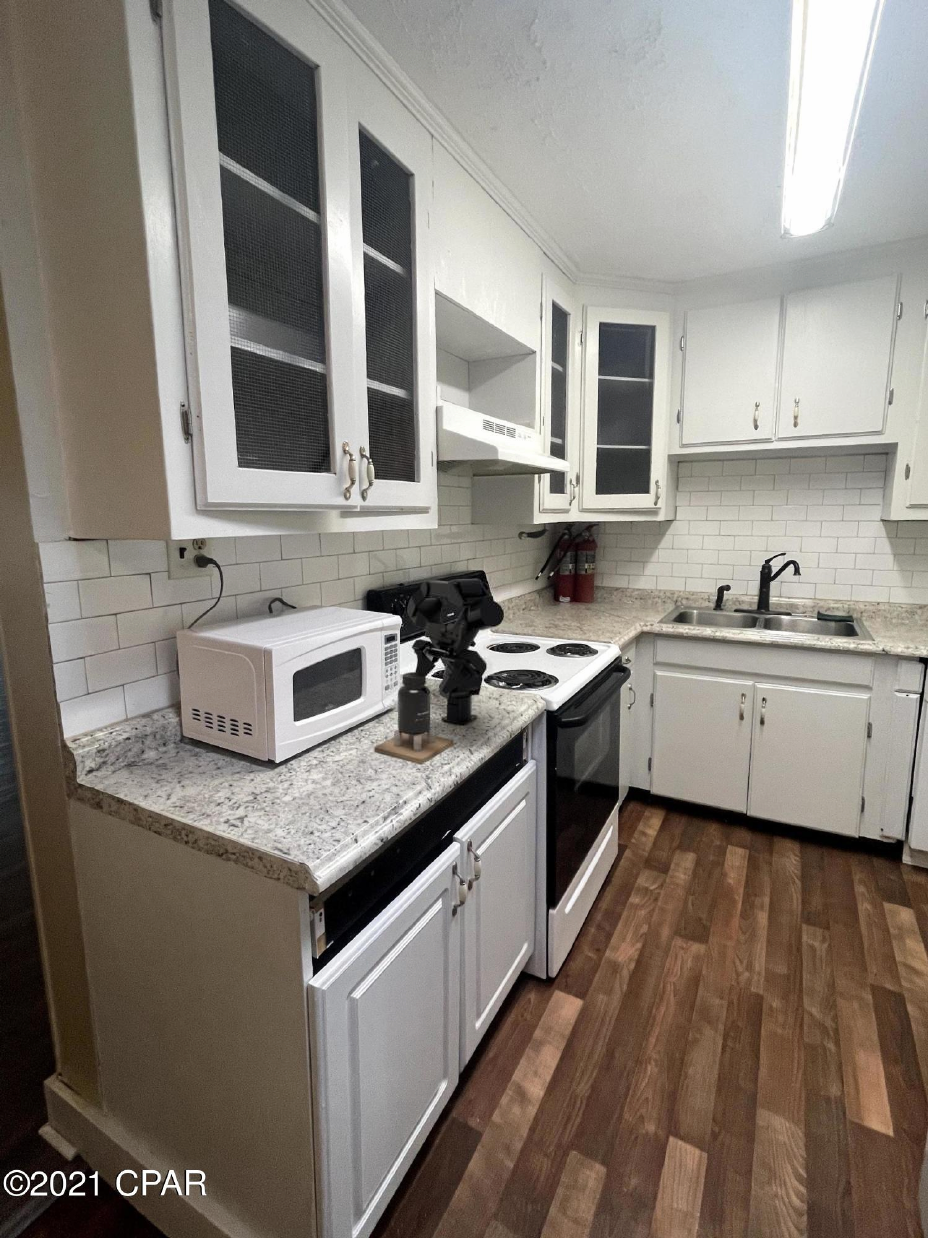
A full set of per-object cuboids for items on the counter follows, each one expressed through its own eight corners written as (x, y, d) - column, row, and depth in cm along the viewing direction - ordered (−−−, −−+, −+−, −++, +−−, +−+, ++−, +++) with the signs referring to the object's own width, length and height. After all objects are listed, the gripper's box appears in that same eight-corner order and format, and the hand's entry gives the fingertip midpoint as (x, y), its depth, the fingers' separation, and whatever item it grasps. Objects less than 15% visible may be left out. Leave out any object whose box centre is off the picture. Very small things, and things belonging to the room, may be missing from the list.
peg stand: (408, 733, 133) (408, 716, 132) (453, 744, 127) (453, 726, 126) (374, 751, 123) (374, 733, 122) (421, 764, 117) (421, 745, 116)
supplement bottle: (425, 736, 120) (425, 680, 118) (393, 734, 122) (392, 678, 119) (433, 725, 127) (433, 671, 125) (403, 723, 128) (402, 669, 126)
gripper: (417, 604, 133) (379, 660, 127) (478, 613, 121) (439, 675, 115) (442, 633, 140) (408, 687, 134) (502, 645, 127) (467, 705, 122)
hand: (428, 688), depth 126 cm, fingers open, 9 cm apart
